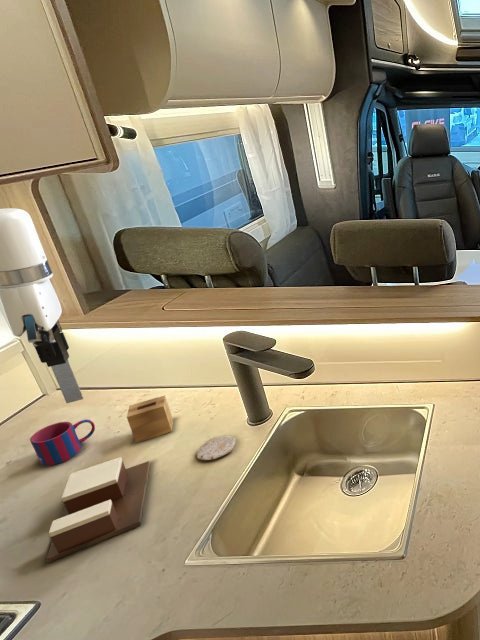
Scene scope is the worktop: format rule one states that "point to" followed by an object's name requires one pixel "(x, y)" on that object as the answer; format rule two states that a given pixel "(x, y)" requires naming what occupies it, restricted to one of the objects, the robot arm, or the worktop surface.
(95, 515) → the cake slice
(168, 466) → the worktop surface
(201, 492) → the worktop surface
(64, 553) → the cake board
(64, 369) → the knife
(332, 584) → the worktop surface
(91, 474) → the cake
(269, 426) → the worktop surface
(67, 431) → the mug
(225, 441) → the flatbread
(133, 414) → the knife block
